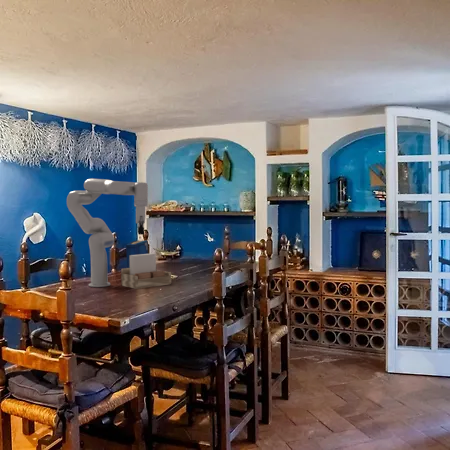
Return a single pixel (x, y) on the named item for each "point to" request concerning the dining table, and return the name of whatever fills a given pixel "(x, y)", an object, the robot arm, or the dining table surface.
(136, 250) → the book
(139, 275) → the offcut
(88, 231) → the robot arm
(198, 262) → the dining table surface
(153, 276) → the offcut
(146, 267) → the tall sheet
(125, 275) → the rack
